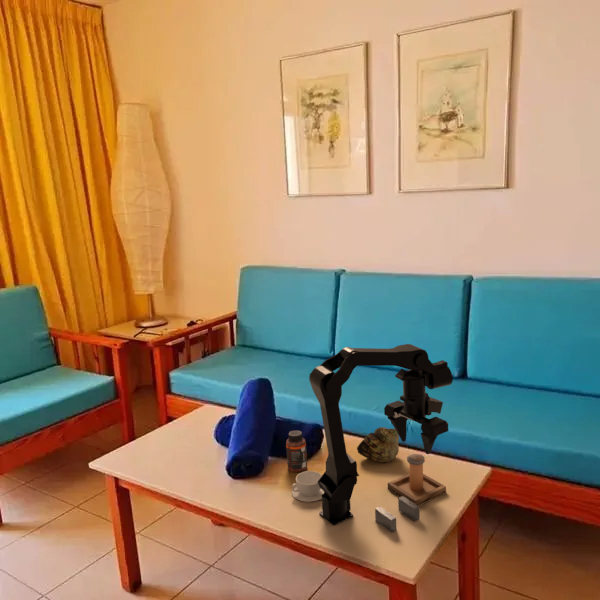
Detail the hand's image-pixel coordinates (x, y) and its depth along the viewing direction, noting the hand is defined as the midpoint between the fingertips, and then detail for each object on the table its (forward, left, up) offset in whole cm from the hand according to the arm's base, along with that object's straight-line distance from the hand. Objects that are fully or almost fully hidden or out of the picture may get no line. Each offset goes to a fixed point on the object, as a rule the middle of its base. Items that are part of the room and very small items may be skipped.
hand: (415, 447), depth 150 cm
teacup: (-24, +17, -13) cm, 32 cm away
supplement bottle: (-19, +31, -13) cm, 39 cm away
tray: (0, 0, -13) cm, 13 cm away
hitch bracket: (-13, -7, -13) cm, 20 cm away
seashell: (+4, +20, -13) cm, 24 cm away
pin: (0, 0, -12) cm, 12 cm away
